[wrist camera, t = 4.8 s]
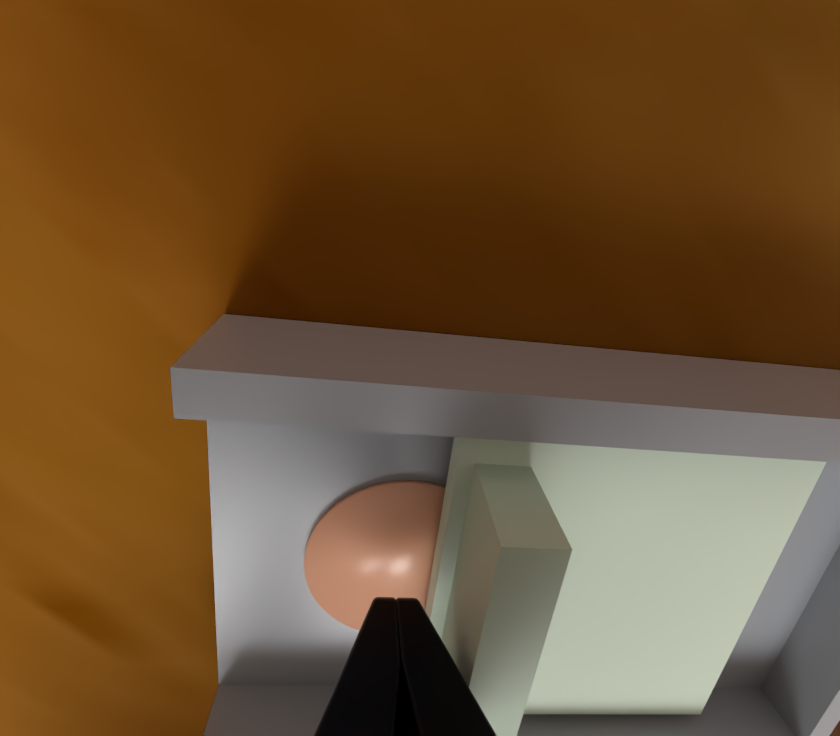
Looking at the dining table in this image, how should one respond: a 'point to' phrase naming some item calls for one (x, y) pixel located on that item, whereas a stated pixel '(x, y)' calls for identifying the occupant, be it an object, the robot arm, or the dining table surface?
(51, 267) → the dining table surface
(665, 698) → the lid
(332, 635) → the gray box
